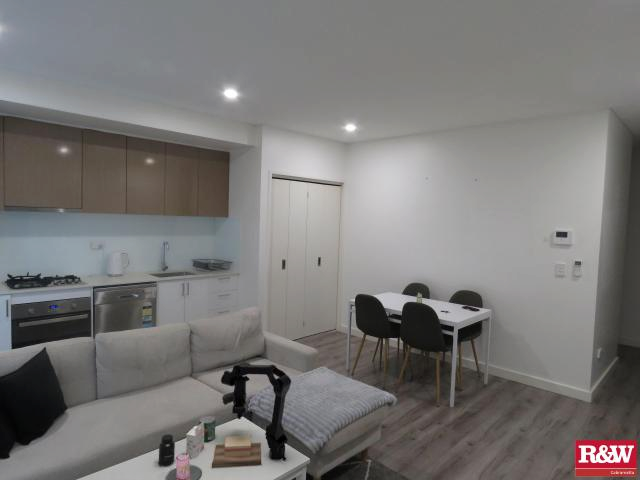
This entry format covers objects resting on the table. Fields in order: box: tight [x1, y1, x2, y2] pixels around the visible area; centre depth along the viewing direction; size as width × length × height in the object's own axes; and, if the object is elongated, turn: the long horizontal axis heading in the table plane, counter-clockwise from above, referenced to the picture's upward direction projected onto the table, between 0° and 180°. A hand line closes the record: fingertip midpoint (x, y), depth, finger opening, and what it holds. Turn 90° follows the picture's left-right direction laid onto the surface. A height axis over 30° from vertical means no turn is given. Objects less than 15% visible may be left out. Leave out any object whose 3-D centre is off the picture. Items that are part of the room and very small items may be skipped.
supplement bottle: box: [158, 434, 176, 467], centre depth 187 cm, size 7×7×12 cm
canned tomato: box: [198, 415, 216, 443], centre depth 207 cm, size 8×8×11 cm
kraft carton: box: [224, 435, 252, 457], centre depth 196 cm, size 9×12×5 cm
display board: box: [211, 442, 262, 469], centre depth 194 cm, size 19×22×3 cm
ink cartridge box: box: [186, 421, 205, 459], centre depth 194 cm, size 9×5×15 cm, turn 168°
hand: (239, 418), depth 204 cm, fingers closed
